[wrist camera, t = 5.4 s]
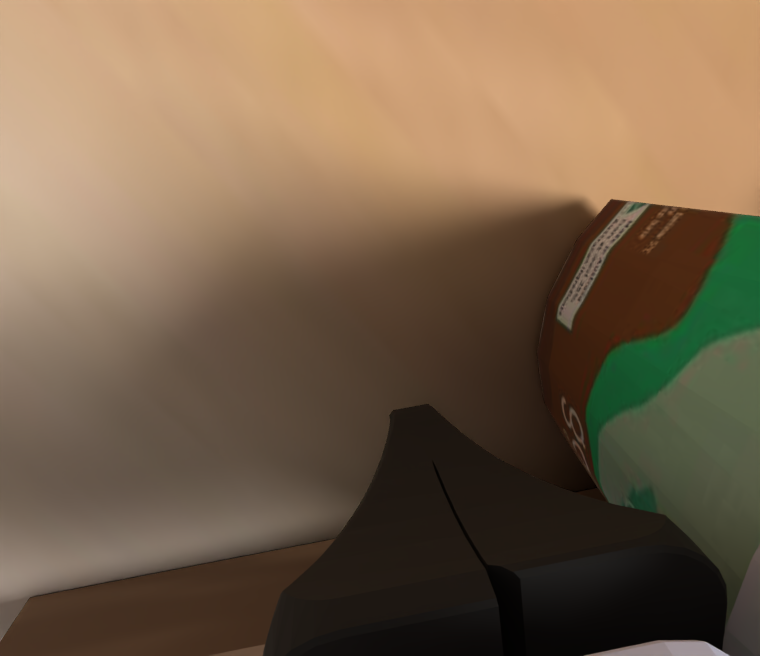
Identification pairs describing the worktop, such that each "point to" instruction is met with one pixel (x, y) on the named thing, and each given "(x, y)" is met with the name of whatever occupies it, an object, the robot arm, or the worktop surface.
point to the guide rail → (168, 609)
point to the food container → (667, 379)
